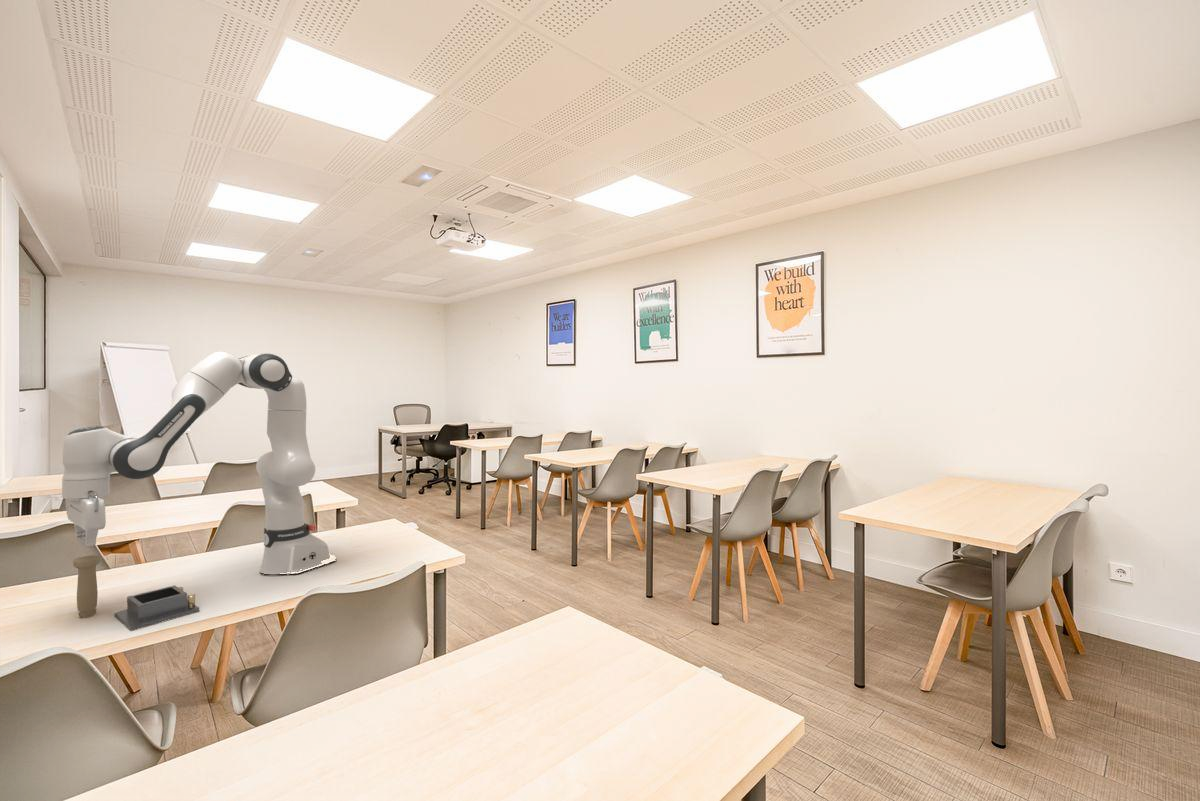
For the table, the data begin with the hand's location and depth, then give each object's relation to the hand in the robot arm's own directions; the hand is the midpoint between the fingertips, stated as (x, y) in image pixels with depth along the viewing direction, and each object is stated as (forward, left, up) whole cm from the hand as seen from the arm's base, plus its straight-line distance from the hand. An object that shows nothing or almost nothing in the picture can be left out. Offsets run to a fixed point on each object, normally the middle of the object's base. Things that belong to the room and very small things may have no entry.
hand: (85, 542), depth 135 cm
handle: (0, 0, -20) cm, 20 cm away
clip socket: (-11, +13, -19) cm, 26 cm away
